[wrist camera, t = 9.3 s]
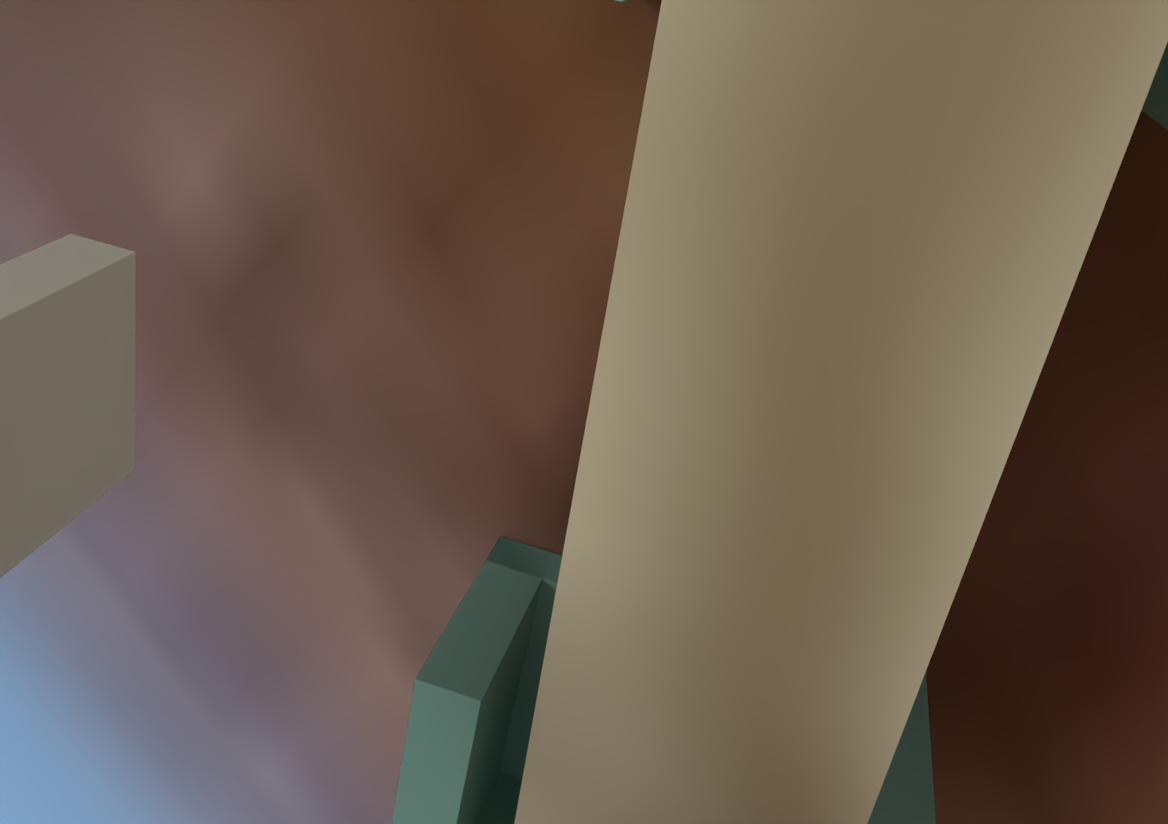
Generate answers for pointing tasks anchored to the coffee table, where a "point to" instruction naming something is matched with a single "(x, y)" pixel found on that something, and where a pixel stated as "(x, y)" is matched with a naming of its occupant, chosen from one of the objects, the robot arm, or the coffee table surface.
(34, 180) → the coffee table surface
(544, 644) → the cap
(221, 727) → the coffee table surface
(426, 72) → the coffee table surface
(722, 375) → the beige long bar
